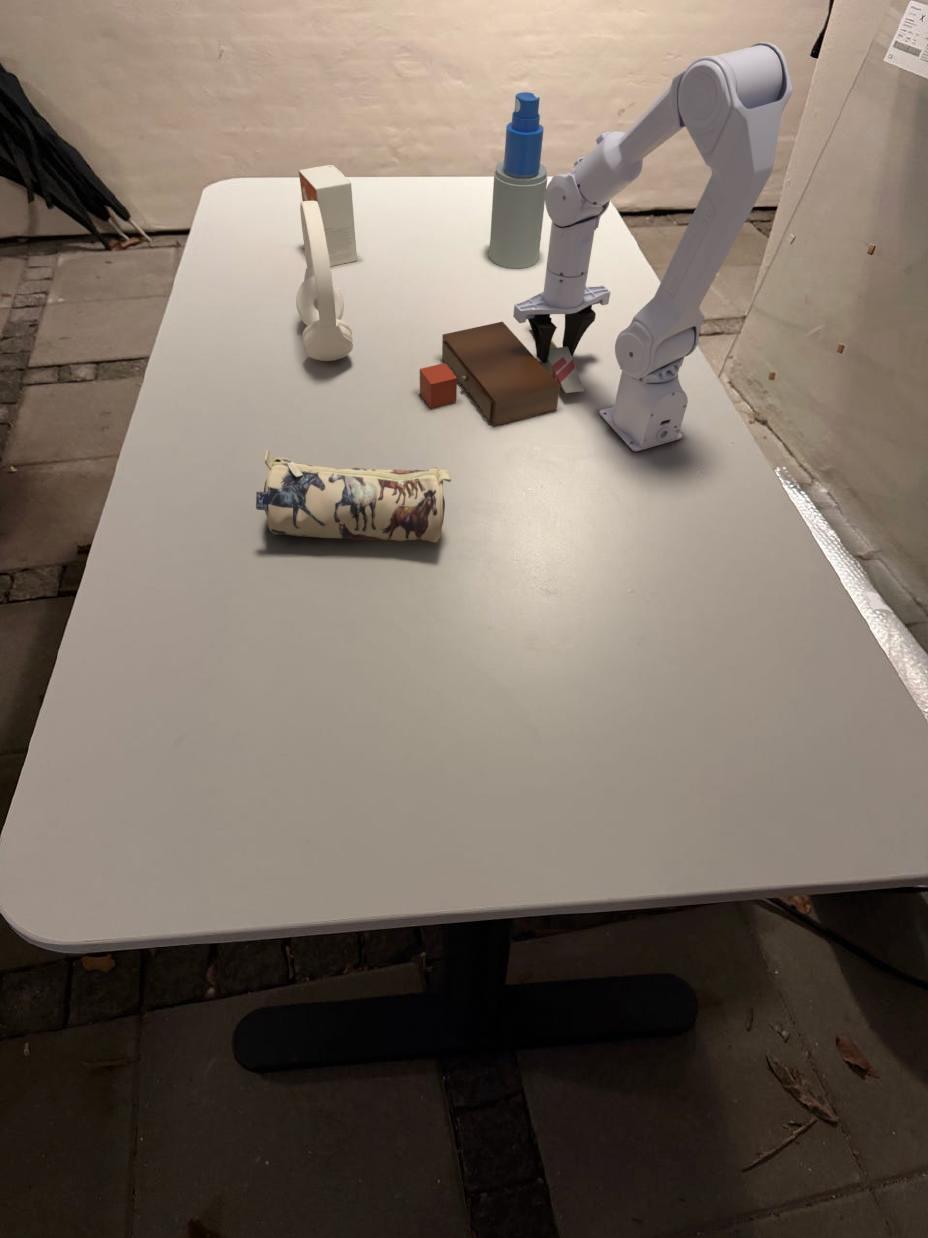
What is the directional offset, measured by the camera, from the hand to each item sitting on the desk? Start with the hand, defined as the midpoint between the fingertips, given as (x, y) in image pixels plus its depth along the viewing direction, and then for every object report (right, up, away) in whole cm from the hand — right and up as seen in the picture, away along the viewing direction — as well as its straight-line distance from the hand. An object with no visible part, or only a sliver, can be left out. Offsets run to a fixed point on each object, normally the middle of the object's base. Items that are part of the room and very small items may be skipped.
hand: (555, 355), depth 116 cm
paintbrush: (0, -1, +2) cm, 2 cm away
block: (-16, -6, -6) cm, 18 cm away
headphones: (-35, +3, +3) cm, 35 cm away
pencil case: (-26, -29, -22) cm, 45 cm away
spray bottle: (-5, +26, +23) cm, 35 cm away
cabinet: (-9, -5, -2) cm, 10 cm away
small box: (-37, +25, +21) cm, 49 cm away
